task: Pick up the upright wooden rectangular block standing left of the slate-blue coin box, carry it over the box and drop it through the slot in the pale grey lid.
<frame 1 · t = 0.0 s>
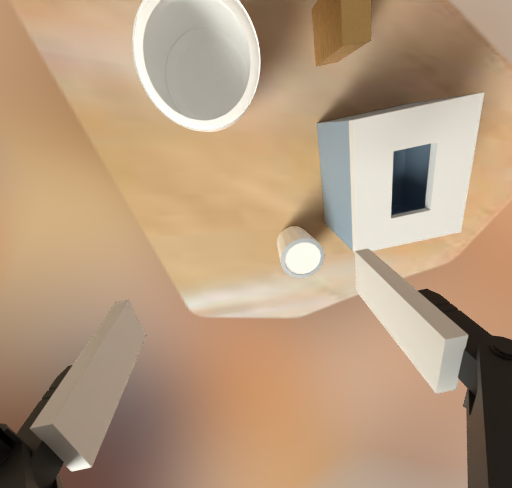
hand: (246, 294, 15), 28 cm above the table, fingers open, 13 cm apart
jar: (211, 88, 34), on the table
coin box: (364, 168, 40), on the table
shot glass: (292, 240, 45), on the table
wooden rectangular block: (325, 36, 33), on the table
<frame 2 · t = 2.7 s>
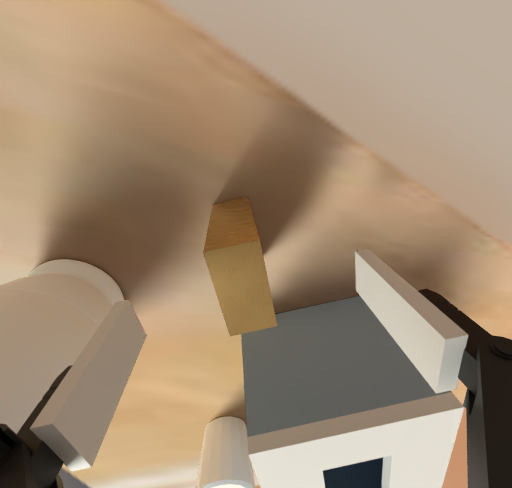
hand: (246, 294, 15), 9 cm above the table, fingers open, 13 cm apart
jar: (80, 296, 24), on the table
coin box: (311, 359, 30), on the table
shot glass: (225, 427, 35), on the table
wooden rectangular block: (238, 232, 22), on the table
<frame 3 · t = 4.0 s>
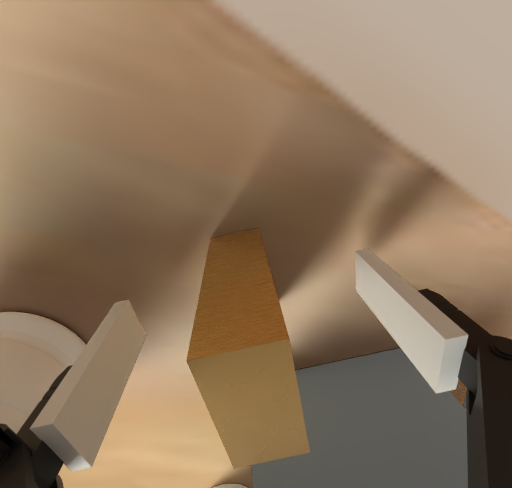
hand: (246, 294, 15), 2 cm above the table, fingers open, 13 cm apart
jar: (35, 354, 18), on the table
coin box: (334, 420, 24), on the table
wooden rectangular block: (244, 274, 17), on the table
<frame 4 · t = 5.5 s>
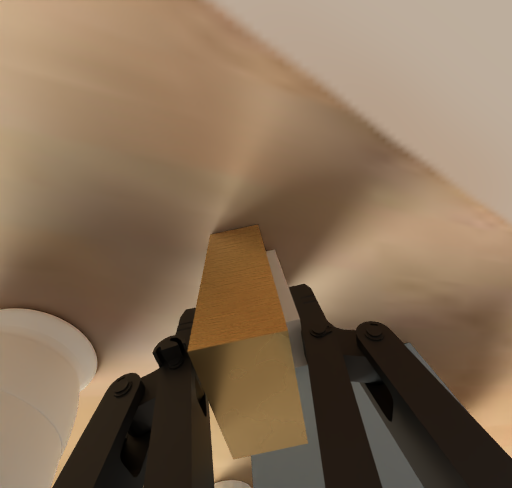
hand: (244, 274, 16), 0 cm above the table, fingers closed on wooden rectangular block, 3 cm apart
jar: (39, 350, 18), on the table
coin box: (333, 417, 24), on the table
wooden rectangular block: (244, 270, 17), on the table, touching gripper
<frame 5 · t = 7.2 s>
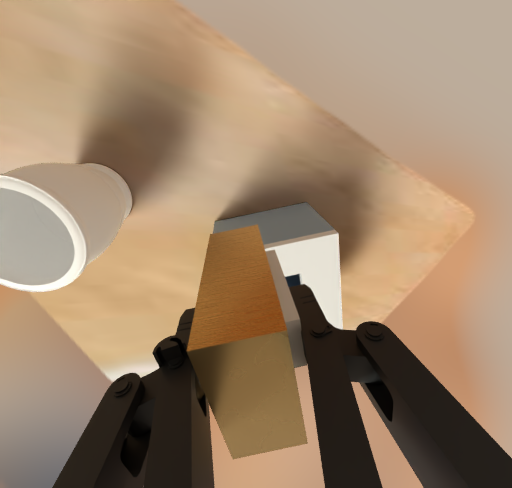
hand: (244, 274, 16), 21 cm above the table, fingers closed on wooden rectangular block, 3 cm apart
jar: (101, 195, 34), on the table
coin box: (269, 257, 41), on the table
wooden rectangular block: (244, 270, 17), point 21 cm above the table, touching gripper
when the fingers open (15 cm above the table, at t = 9.0 s): wooden rectangular block drops 13 cm, resting on coin box.
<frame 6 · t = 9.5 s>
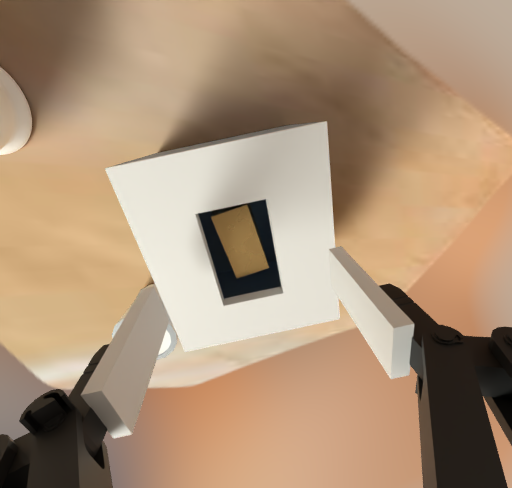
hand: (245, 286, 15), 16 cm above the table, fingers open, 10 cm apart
coin box: (239, 210, 30), on the table
shot glass: (161, 299, 34), on the table
wooden rectangular block: (238, 211, 29), point 1 cm above the table, touching coin box
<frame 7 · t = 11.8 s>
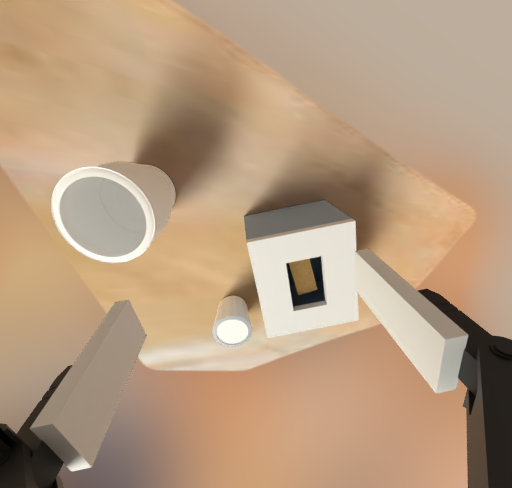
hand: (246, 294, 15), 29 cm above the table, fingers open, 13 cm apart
jar: (149, 191, 40), on the table
coin box: (290, 249, 46), on the table
shot glass: (232, 306, 50), on the table
wooden rectangular block: (291, 251, 45), point 1 cm above the table, touching coin box
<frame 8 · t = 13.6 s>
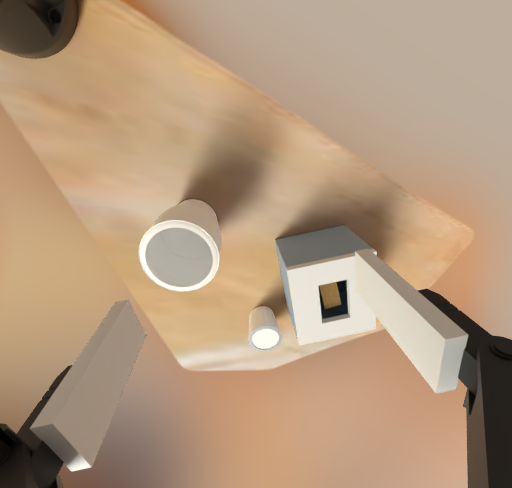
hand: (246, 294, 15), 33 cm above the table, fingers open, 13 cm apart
jar: (195, 221, 47), on the table
coin box: (313, 266, 53), on the table
shot glass: (261, 315, 57), on the table
wooden rectangular block: (314, 268, 52), point 1 cm above the table, touching coin box
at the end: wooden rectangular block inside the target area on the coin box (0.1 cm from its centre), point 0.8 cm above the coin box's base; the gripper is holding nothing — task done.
